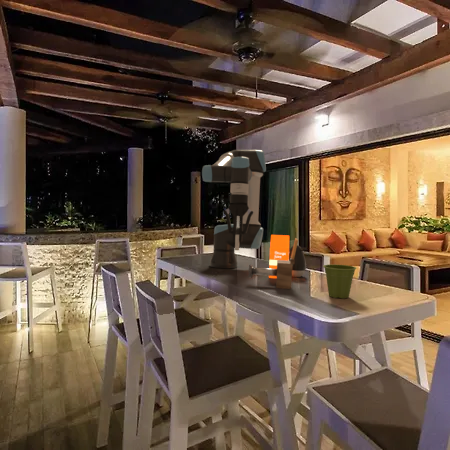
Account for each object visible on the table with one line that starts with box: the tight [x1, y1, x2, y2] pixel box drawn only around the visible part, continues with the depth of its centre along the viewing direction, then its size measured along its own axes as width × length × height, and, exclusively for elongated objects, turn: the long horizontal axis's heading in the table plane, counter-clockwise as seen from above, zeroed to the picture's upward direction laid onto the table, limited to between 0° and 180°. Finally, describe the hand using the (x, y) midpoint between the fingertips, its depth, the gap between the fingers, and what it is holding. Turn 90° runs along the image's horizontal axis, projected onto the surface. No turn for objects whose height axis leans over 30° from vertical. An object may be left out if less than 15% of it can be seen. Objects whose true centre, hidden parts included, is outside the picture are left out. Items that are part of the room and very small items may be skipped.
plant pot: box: [322, 263, 357, 299], centre depth 134 cm, size 12×12×11 cm
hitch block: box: [275, 256, 295, 290], centre depth 149 cm, size 10×7×12 cm, turn 172°
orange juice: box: [268, 234, 290, 279], centre depth 170 cm, size 8×9×20 cm
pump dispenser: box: [289, 244, 307, 278], centre depth 174 cm, size 10×10×15 cm
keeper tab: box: [290, 237, 299, 259], centre depth 148 cm, size 8×10×1 cm
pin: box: [248, 264, 277, 278], centre depth 150 cm, size 5×17×5 cm, turn 82°
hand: (237, 250), depth 152 cm, fingers closed
